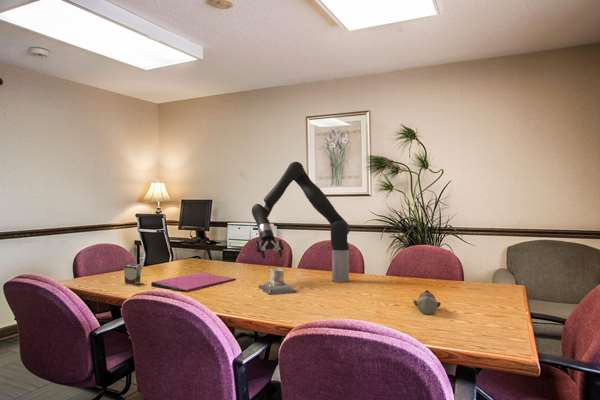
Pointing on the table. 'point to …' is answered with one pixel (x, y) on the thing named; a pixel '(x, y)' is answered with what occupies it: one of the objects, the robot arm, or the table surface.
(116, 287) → the table surface
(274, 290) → the fixture plate
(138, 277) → the food container
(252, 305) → the table surface
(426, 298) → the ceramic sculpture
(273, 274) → the birch block
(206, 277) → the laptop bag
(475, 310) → the table surface
